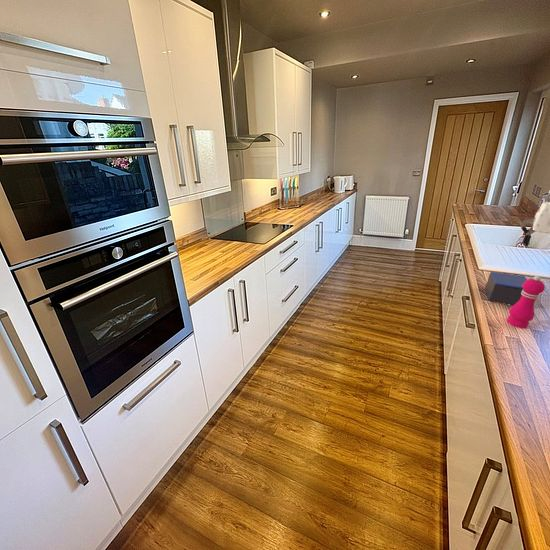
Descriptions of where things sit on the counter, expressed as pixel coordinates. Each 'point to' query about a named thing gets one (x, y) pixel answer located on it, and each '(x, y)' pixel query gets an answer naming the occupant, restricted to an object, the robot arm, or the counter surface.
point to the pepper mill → (526, 303)
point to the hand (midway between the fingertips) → (541, 247)
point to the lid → (508, 280)
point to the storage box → (502, 293)
